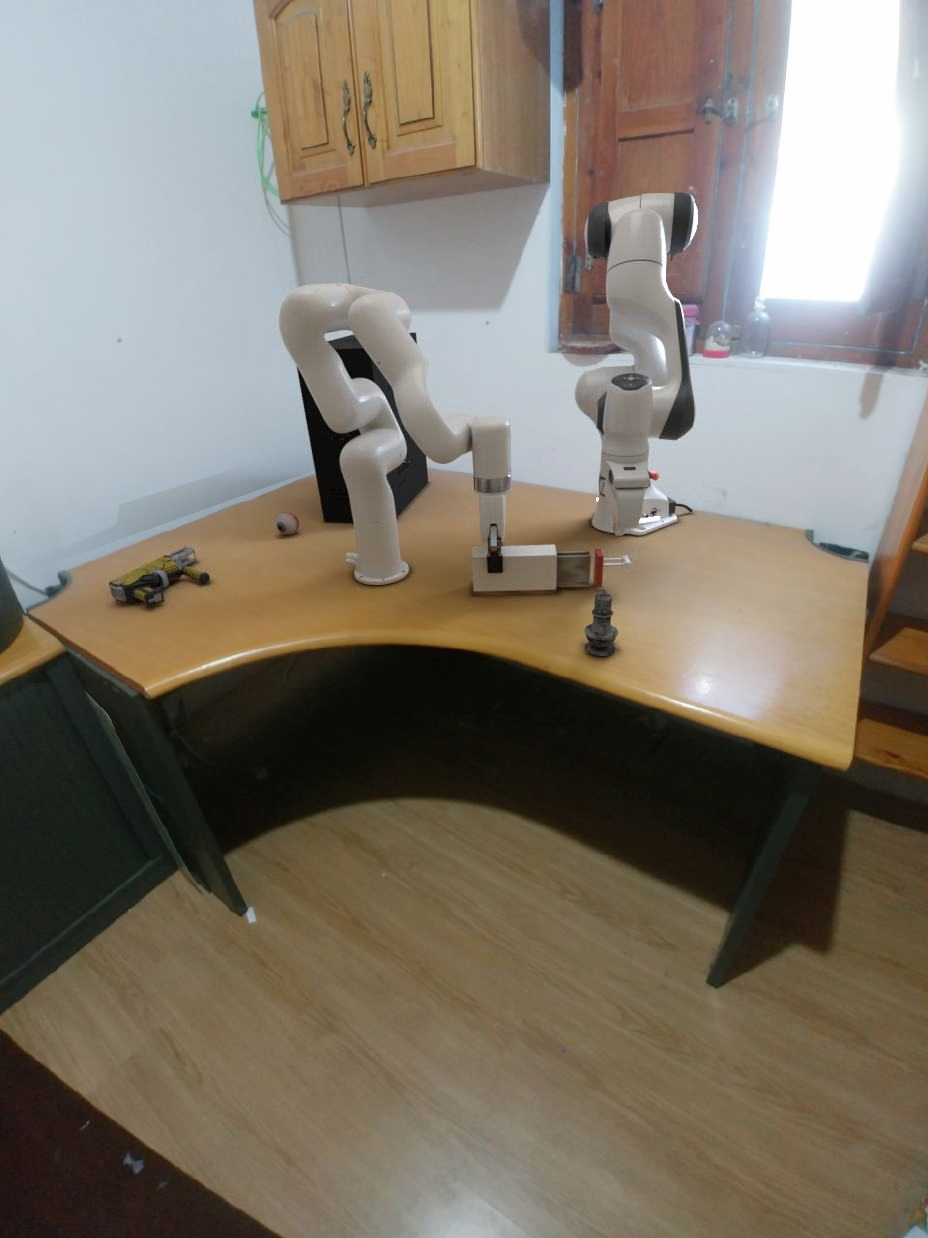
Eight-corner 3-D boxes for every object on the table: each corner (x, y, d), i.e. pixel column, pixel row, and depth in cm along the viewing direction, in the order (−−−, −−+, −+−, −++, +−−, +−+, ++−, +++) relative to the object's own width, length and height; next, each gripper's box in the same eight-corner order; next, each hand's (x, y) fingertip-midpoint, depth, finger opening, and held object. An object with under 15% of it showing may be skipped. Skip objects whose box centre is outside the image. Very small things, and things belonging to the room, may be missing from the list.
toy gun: (232, 554, 147) (182, 544, 151) (158, 595, 127) (102, 582, 130) (235, 572, 149) (185, 561, 153) (162, 615, 129) (107, 601, 133)
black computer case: (391, 523, 168) (370, 347, 145) (324, 521, 172) (293, 350, 150) (428, 482, 199) (416, 332, 177) (370, 481, 204) (351, 334, 181)
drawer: (626, 577, 130) (629, 547, 126) (629, 586, 126) (632, 555, 123) (523, 580, 132) (522, 550, 128) (523, 589, 128) (523, 558, 124)
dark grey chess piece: (616, 658, 105) (622, 597, 99) (582, 655, 106) (586, 595, 100) (616, 640, 110) (621, 581, 104) (583, 638, 111) (587, 580, 105)
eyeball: (273, 537, 164) (268, 516, 161) (287, 528, 169) (282, 508, 166) (291, 539, 161) (286, 518, 158) (305, 530, 166) (301, 510, 163)
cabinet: (554, 582, 132) (555, 544, 128) (556, 593, 127) (557, 554, 123) (474, 584, 134) (472, 546, 129) (473, 595, 129) (471, 557, 124)
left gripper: (475, 470, 127) (479, 550, 136) (471, 497, 112) (476, 584, 121) (511, 469, 126) (512, 549, 135) (512, 496, 111) (513, 583, 120)
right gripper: (599, 452, 125) (595, 515, 132) (615, 482, 107) (610, 553, 114) (630, 450, 125) (625, 514, 132) (651, 480, 107) (643, 552, 114)
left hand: (495, 565), depth 128 cm, fingers open, 5 cm apart
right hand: (618, 532), depth 123 cm, fingers closed
